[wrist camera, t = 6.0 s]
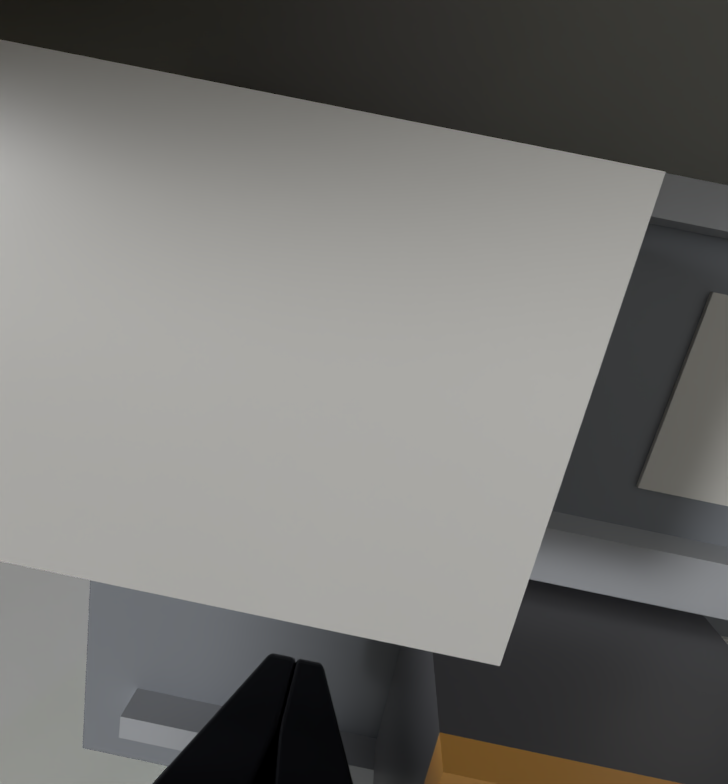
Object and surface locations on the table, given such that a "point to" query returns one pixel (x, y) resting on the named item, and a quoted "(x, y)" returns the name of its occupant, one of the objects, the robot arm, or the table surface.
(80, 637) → the table surface
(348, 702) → the breaker panel
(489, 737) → the block
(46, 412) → the block
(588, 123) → the table surface
